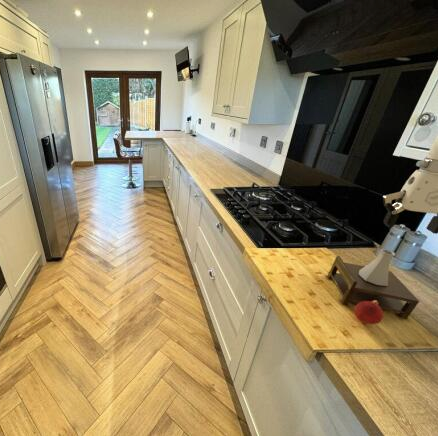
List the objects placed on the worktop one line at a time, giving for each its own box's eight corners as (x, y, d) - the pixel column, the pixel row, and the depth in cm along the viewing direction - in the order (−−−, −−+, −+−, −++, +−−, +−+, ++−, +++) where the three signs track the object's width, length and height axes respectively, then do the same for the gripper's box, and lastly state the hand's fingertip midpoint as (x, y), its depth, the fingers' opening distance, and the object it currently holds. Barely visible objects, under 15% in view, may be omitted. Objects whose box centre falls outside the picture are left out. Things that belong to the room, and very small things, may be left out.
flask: (382, 275, 75) (398, 249, 71) (392, 289, 69) (410, 261, 65) (354, 268, 78) (368, 243, 73) (362, 281, 72) (377, 254, 67)
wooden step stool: (381, 287, 80) (394, 266, 76) (406, 319, 68) (423, 295, 64) (327, 276, 85) (336, 255, 81) (342, 304, 73) (354, 281, 69)
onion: (371, 334, 63) (386, 313, 60) (346, 319, 67) (358, 298, 64) (379, 324, 66) (393, 303, 63) (354, 311, 70) (366, 290, 67)
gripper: (409, 167, 57) (378, 229, 65) (506, 174, 52) (461, 240, 60) (391, 161, 64) (365, 218, 71) (477, 167, 59) (439, 227, 66)
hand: (409, 228), depth 65 cm, fingers open, 9 cm apart
